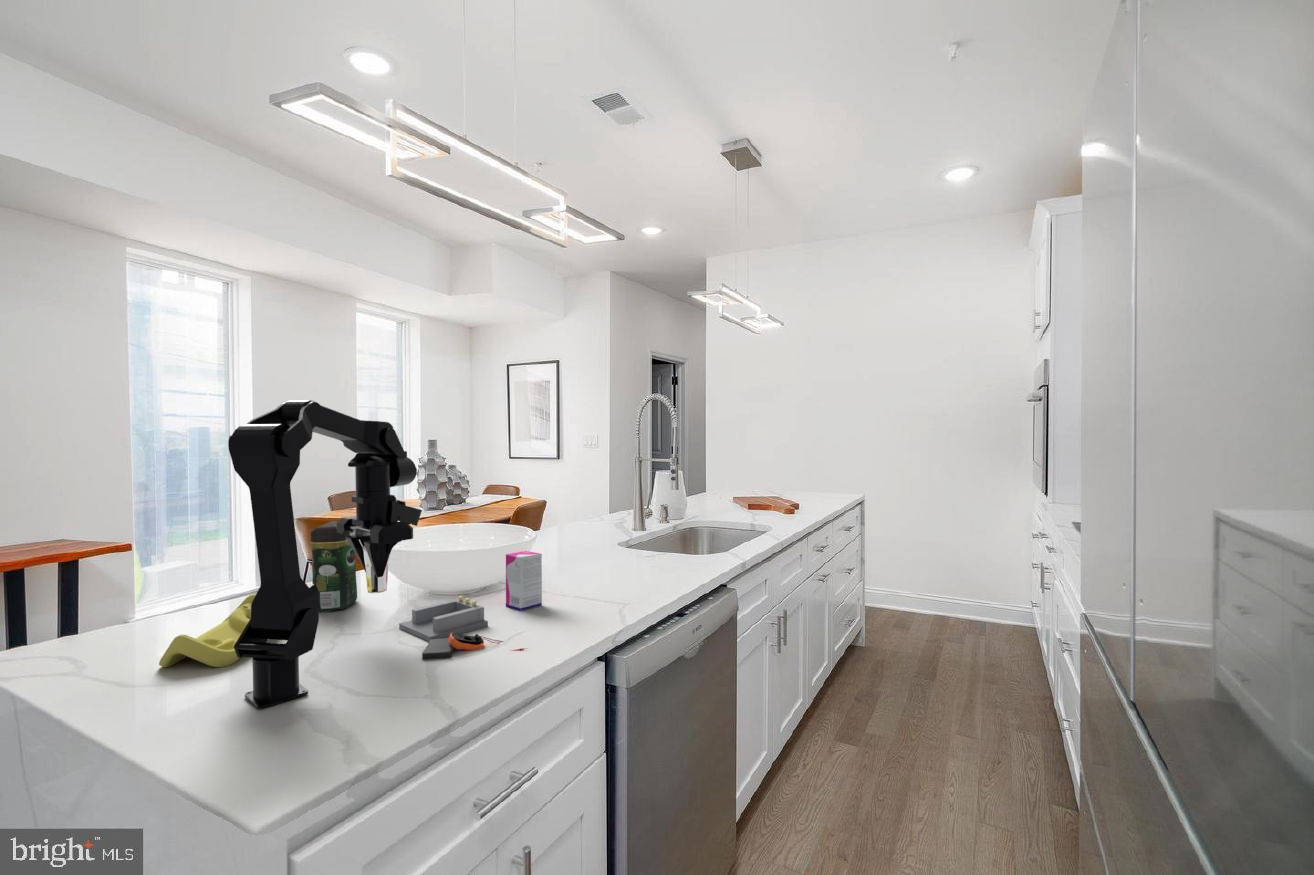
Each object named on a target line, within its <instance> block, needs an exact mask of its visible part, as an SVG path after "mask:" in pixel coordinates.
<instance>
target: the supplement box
mask: <svg viewBox="0 0 1314 875" xmlns="http://www.w3.org/2000/svg"><path fill="white" fill-rule="evenodd" d="M542 556H543V554H542V553H540V552H535V551H534V552H533V551H530V550H529V551H527V550H523V551H518V552H517V551H516V552H511V553H506V554H505V607H507V608H510V609H513V610H518V611H521V612H523V611H527V610H530V609H533V608H538V607H540V606H543V574H542V573H543V572H542V570H543V566H542V558H543V557H542Z"/></svg>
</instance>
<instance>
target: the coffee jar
mask: <svg viewBox="0 0 1314 875" xmlns="http://www.w3.org/2000/svg"><path fill="white" fill-rule="evenodd" d="M338 521H339V520H332V521H330V522H327V523H325V524H324V523H323V524H322V525H319V526H316V527H315V528H313V529H311V530H310V541H309V543H310V548H311V556H312V558H311V559H312V583H311V584H316V586H317V588H318V601H319V605H320V607H321V610H318V612H319V611H320V612H333V611H337V610H345V609H346V608H348V607H350V606H351V605H352V604H354V603H355V602H356V601H357V599H358V586H357V568H356V567H357V566H356V554H355V552H354V550H353V548H352V547H351V545H350V543H349V542H348V540H347V539H346V536H350V531H347V532H346V534H341V533H337V522H338Z"/></svg>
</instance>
